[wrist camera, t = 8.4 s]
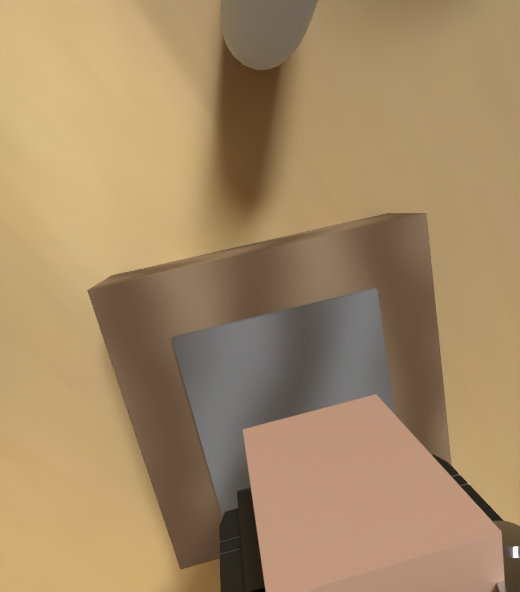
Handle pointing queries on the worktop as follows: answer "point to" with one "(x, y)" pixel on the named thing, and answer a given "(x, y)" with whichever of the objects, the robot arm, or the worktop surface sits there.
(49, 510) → the worktop surface
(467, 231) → the worktop surface
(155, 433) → the walnut base
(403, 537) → the terracotta block
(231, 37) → the donut
